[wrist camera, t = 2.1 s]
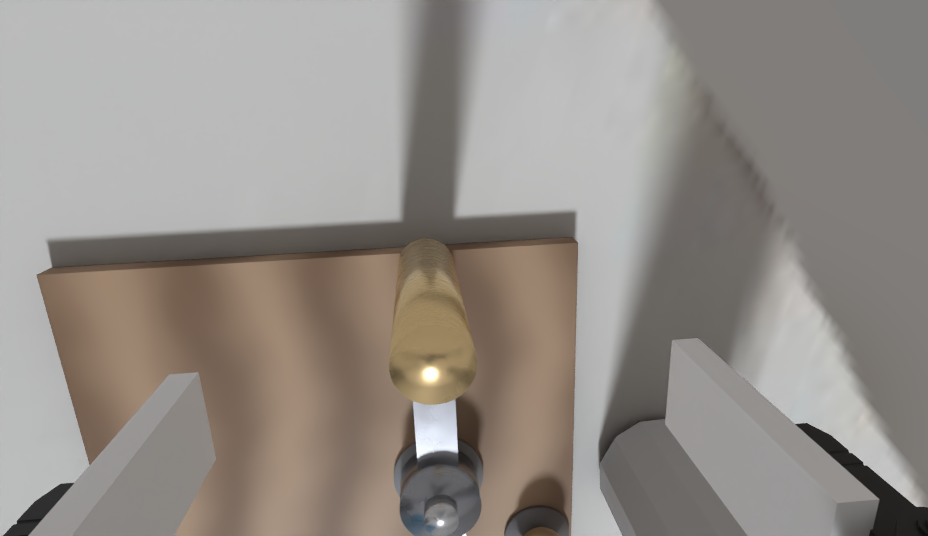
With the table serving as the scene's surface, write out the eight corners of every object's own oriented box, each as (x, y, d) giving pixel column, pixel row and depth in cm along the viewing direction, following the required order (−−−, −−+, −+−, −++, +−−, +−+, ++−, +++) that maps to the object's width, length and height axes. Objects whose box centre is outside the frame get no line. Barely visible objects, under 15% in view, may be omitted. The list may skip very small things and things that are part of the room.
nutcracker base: (138, 589, 35) (100, 659, 31) (51, 267, 29) (-13, 298, 24) (565, 547, 37) (585, 607, 33) (571, 237, 31) (597, 260, 26)
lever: (479, 547, 34) (509, 754, 24) (406, 555, 34) (403, 767, 23) (467, 234, 28) (501, 320, 18) (379, 239, 28) (359, 330, 17)
